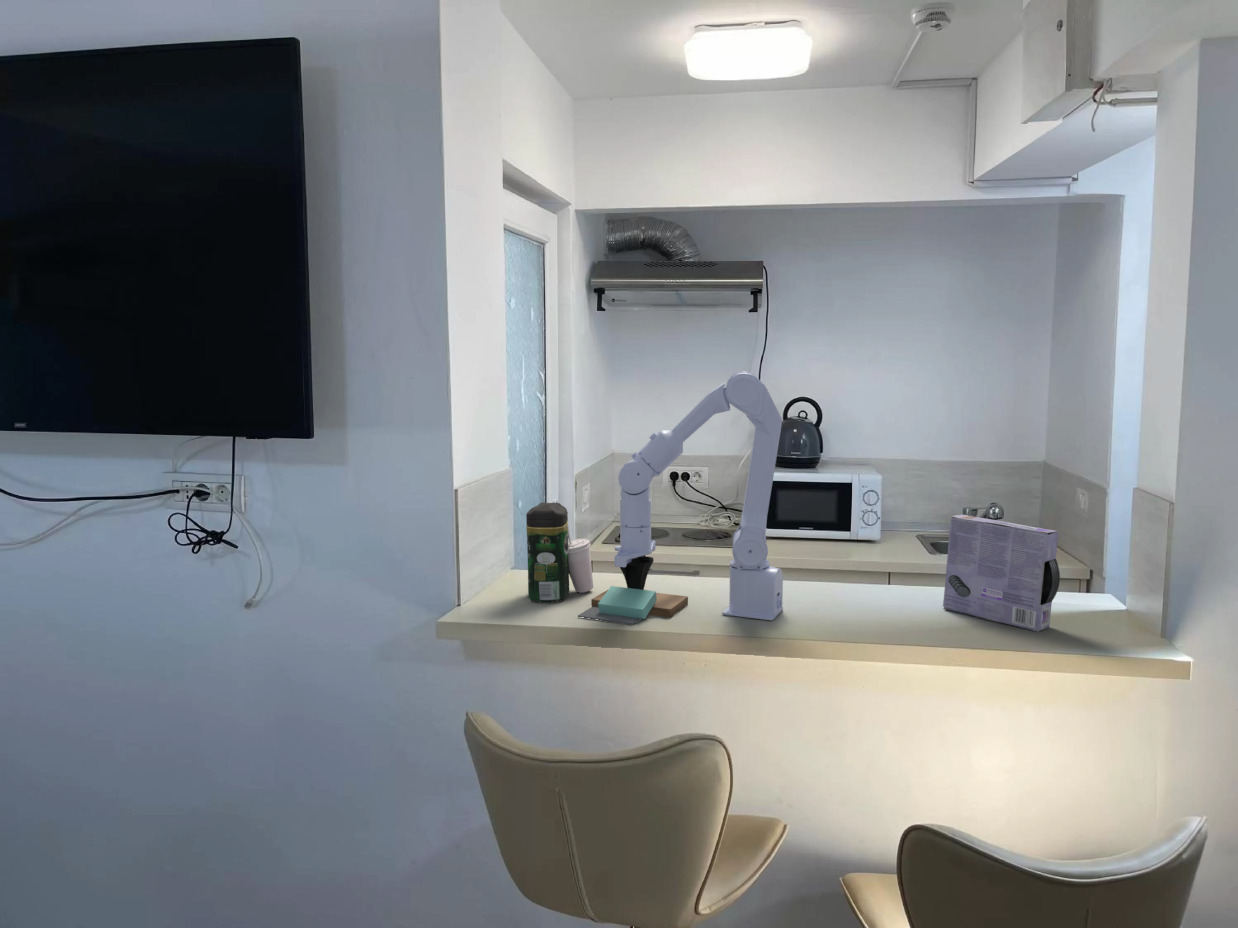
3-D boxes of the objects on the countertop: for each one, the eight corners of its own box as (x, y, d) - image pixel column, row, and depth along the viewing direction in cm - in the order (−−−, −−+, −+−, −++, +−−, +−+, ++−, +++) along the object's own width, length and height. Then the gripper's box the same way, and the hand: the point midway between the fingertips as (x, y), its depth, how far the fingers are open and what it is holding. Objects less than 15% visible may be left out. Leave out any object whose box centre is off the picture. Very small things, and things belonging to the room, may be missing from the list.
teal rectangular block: (656, 600, 170) (655, 591, 170) (644, 618, 166) (643, 609, 165) (612, 594, 174) (611, 585, 173) (599, 612, 169) (597, 603, 169)
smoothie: (564, 590, 187) (549, 524, 184) (593, 580, 189) (578, 515, 186) (575, 597, 181) (559, 530, 178) (604, 587, 183) (589, 521, 180)
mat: (647, 614, 169) (647, 612, 169) (632, 625, 163) (632, 623, 163) (593, 608, 174) (593, 605, 174) (577, 617, 168) (577, 615, 168)
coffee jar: (532, 590, 187) (531, 499, 184) (571, 590, 186) (570, 500, 183) (524, 604, 177) (522, 508, 174) (565, 604, 176) (563, 509, 174)
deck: (687, 604, 176) (687, 596, 175) (670, 617, 168) (670, 609, 167) (611, 595, 182) (611, 587, 182) (591, 607, 174) (591, 599, 174)
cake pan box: (1058, 628, 160) (1064, 528, 158) (1045, 634, 157) (1051, 532, 155) (955, 604, 175) (959, 512, 172) (941, 609, 171) (945, 516, 169)
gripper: (631, 516, 179) (632, 584, 181) (599, 530, 166) (599, 603, 168) (665, 519, 176) (665, 588, 178) (634, 533, 163) (635, 608, 165)
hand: (635, 596), depth 173 cm, fingers closed
